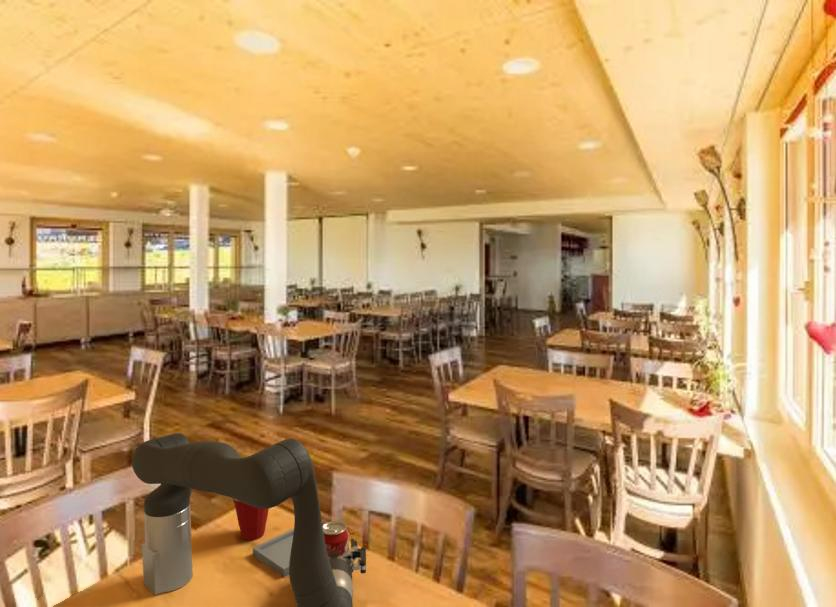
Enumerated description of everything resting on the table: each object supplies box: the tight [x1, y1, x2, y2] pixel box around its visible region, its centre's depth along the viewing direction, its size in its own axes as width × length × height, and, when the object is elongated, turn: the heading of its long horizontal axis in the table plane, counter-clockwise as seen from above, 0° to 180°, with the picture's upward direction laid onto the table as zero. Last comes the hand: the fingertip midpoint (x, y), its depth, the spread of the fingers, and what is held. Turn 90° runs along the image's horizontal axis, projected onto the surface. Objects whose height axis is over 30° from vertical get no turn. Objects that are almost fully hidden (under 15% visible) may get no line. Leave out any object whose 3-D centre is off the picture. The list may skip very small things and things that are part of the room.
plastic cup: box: [232, 498, 270, 541], centre depth 135 cm, size 11×11×12 cm
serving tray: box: [252, 528, 294, 578], centre depth 127 cm, size 13×13×2 cm
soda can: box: [322, 520, 350, 555], centre depth 117 cm, size 7×7×12 cm
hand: (333, 543), depth 119 cm, fingers open, 8 cm apart
